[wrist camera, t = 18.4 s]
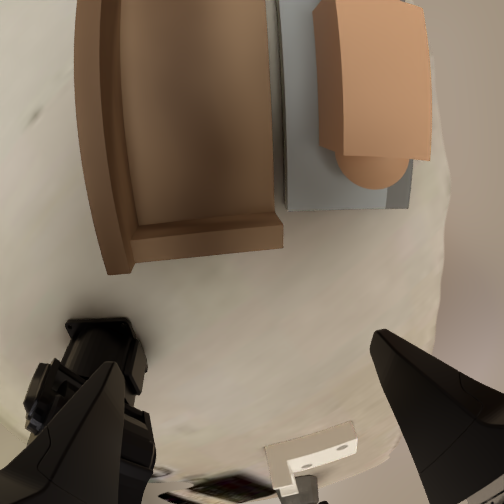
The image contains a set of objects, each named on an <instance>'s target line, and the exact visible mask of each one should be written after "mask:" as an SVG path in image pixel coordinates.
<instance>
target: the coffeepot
mask: <svg viewBox="0 0 504 504" xmlns="http://www.w3.org/2000/svg"><path fill="white" fill-rule="evenodd" d="M295 480H296V484H297V488H298V492H299V493H297V494H293V495H289V496H285V497H282V496H281V493H280V490H279V489H276V492H277V495H278V497H279V499H280V501H281V504H317V503H318V501H319V498H318V485H317V478H316V477H315V476H311V475H307V476H299V477H295ZM319 504H328V502H327V501H322V502H320V503H319Z"/></svg>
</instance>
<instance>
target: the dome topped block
mask: <svg viewBox="0 0 504 504" xmlns="http://www.w3.org/2000/svg"><path fill="white" fill-rule="evenodd" d="M312 15H313V25H314V37H315V50H316V66H317V85H318V113H319V146H321V147H324V148H326V149H329V150H331V151H334V152H335V157H336V161H337V163H338V166H339V168H340V169H341V171H342V173H343V174H344V175H345V176H346V177H347V178H348V179H349V180H350V181H351V182H353V183H354V184H356V185H358V186H360V187H363V188H366V189H372V190H378V189H384V188H387V187H390V186H392V185H393V184H395V183H396V182H398V181H399V180H400V179H401V177H402V176H403V175H404V173H405V172H406V169H407V167H408V164H409V159H416V160H426V161H430V154H431V133H432V90H431V71H430V58H429V48H428V39H427V32H426V25H425V19H424V13H423V8H420V7H418V6H415V5H412V4H409V3H406V2H403V1H400V0H321V1H320V2H319V4H318V5H317V6H316V8H315V9H314V10H313V11H312Z"/></svg>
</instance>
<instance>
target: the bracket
mask: <svg viewBox="0 0 504 504" xmlns="http://www.w3.org/2000/svg"><path fill="white" fill-rule="evenodd" d="M357 442H358V437H357V435H356V432H355V430H354V427H353V425H352V422H351V421H348V422H345V423H343V424H340V425H337V426H334V427H331V428H328V429H325V430H322V431H319V432H316V433H313V434H310V435H307V436H303V437H300V438H296V439H293V440H289V441H285V442H281V443H277V444H273V445H269V446H265V451H266V456H267V461H268V466H269V471H270V476H271V481H272V486H273V489H274V490H276V489H279V490H280V493H281V496H282V497H285V496H289V495H293V494H297V493H299V492H298V488H297V484H296V480H295V476H294V473H295V472H299V471H302V470H306V469H310V468H313V467H316V466H320V465H323V464H326V463H329V462H332V461H335V460H338V459H341V458H344V457H347V456H349V455H352V454H355V453H356V451H357Z"/></svg>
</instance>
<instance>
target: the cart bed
mask: <svg viewBox="0 0 504 504" xmlns="http://www.w3.org/2000/svg"><path fill="white" fill-rule="evenodd" d="M74 87H75V105H76V118H77V128H78V137H79V145H80V153H81V160H82V166H83V173H84V179H85V184H86V190H87V195H88V200H89V205H90V209H91V214H92V218H93V223H94V227H95V231H96V235H97V239H98V243H99V246H100V250H101V254H102V257H103V261H104V264H105V268H106V271H107V274H108V275H118V274H128V273H131V271H132V269H133V267H134V265H135V263H141V262H151V261H160V260H170V259H180V258H190V257H200V256H210V255H219V254H229V253H239V252H249V251H259V250H269V249H279V248H283V224H282V222H281V221H280V219H279V218H278V216H277V215H276V213H275V208H274V169H273V139H272V114H271V91H270V71H269V53H268V37H267V21H266V7H265V0H77V8H76V20H75V37H74Z"/></svg>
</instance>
